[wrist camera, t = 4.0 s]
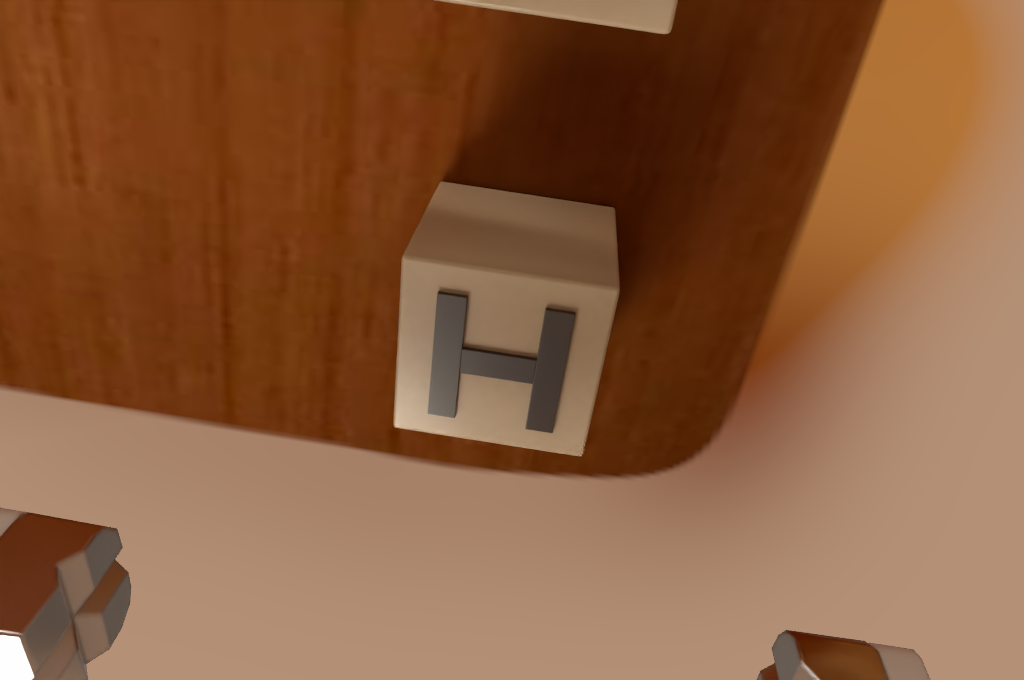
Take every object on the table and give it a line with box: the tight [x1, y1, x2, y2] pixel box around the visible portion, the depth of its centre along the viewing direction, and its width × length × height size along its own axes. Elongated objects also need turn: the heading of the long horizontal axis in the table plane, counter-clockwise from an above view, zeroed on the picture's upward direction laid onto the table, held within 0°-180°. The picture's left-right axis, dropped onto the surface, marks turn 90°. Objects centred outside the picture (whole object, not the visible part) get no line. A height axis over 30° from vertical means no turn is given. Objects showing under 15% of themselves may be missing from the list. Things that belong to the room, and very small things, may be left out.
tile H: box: [393, 182, 620, 456], centre depth 16 cm, size 4×4×4 cm
